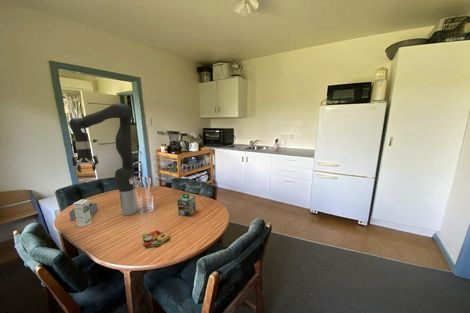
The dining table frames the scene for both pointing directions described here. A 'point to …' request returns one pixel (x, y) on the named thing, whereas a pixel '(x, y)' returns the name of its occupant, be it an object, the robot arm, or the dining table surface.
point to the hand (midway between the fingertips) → (87, 170)
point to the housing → (92, 206)
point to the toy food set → (154, 238)
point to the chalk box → (186, 205)
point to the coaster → (85, 225)
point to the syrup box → (82, 211)
